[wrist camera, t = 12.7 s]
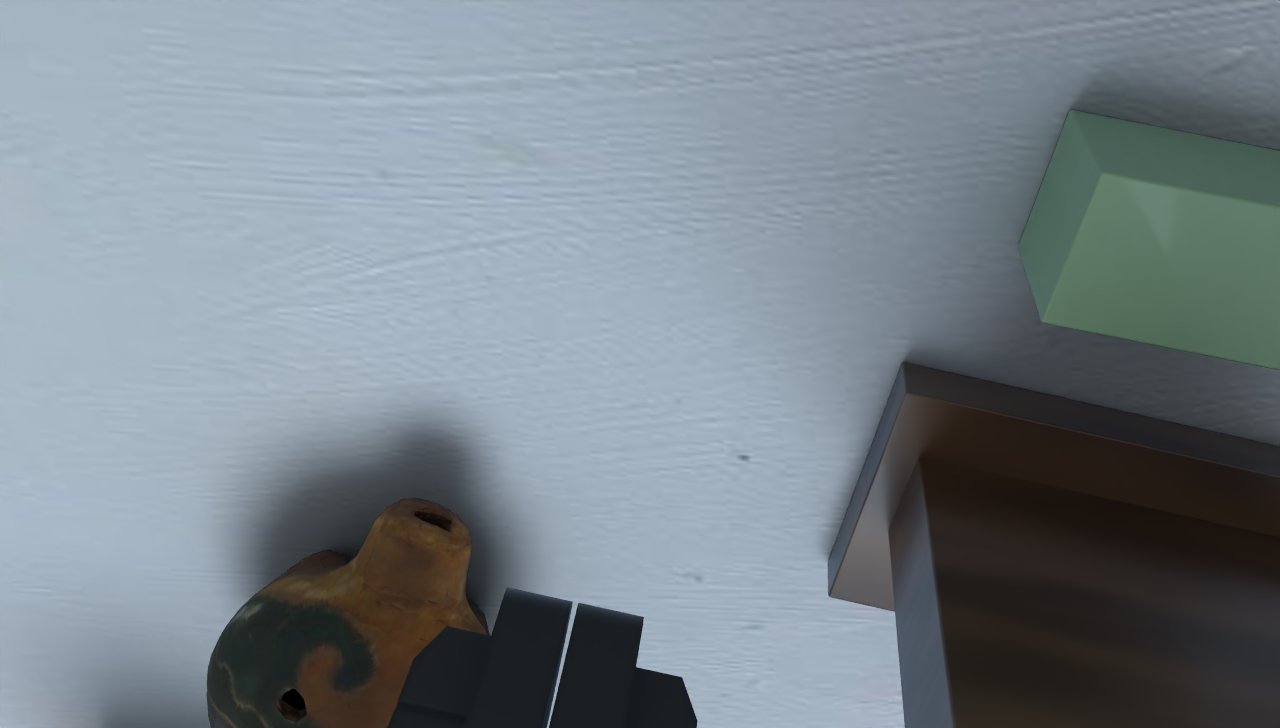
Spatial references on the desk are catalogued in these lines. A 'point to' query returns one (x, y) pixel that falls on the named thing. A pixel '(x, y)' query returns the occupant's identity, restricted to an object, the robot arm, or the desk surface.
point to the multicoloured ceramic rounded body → (345, 627)
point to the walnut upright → (1065, 562)
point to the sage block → (1159, 239)
